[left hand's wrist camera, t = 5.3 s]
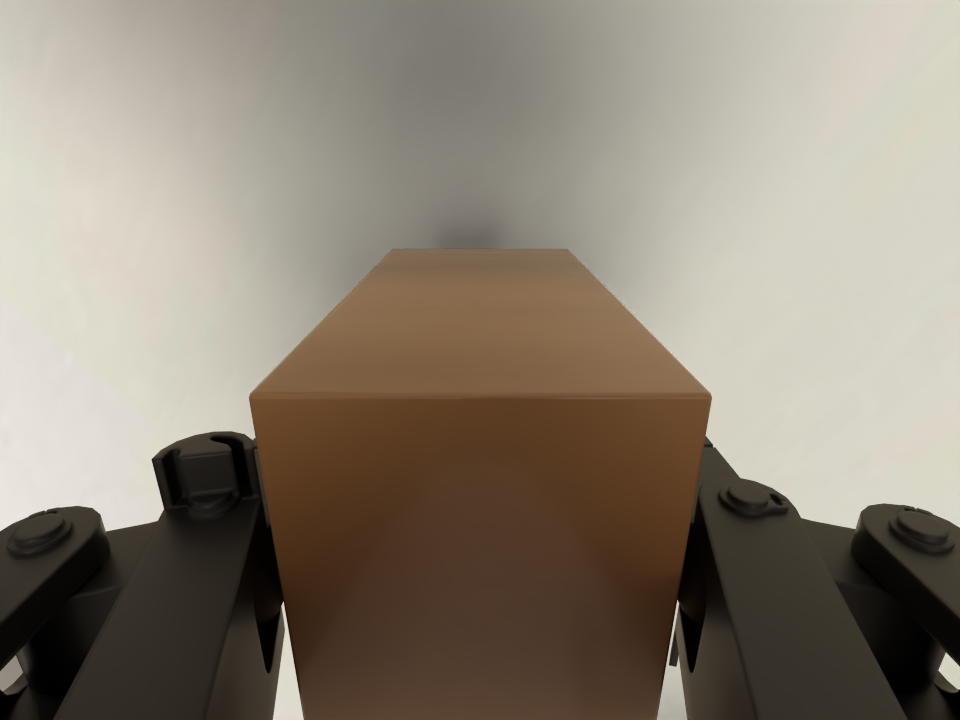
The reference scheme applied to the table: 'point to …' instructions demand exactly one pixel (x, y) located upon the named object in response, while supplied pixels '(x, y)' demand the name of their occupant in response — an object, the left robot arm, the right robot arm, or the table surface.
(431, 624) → the bar
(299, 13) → the table surface
